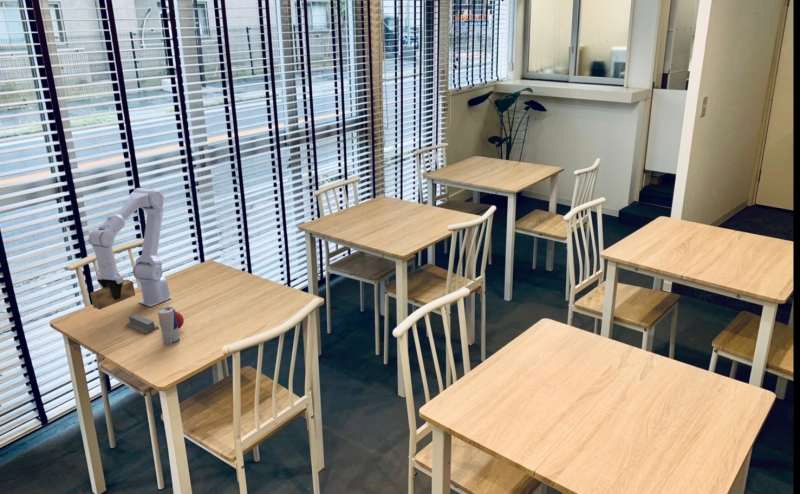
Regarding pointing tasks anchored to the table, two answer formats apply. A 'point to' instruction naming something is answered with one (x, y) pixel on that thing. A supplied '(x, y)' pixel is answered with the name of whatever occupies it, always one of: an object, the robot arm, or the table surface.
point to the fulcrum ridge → (141, 324)
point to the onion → (179, 319)
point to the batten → (105, 297)
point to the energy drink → (168, 326)
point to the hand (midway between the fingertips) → (114, 297)
